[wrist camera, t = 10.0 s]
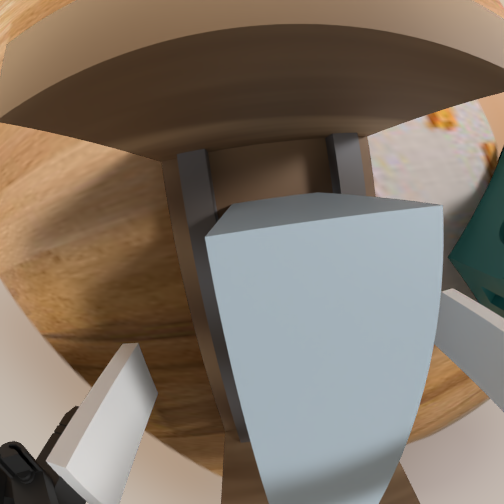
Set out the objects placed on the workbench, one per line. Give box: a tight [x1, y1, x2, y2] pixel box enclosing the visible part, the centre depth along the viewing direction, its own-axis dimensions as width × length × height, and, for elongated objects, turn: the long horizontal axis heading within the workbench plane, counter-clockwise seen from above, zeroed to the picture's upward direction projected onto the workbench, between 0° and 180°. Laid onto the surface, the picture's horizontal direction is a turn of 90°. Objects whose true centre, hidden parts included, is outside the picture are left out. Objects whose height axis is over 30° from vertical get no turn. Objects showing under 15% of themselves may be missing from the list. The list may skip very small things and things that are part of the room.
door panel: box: [205, 192, 444, 504], centre depth 10 cm, size 12×4×9 cm, turn 8°
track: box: [0, 0, 504, 504], centre depth 10 cm, size 20×10×11 cm, turn 8°
